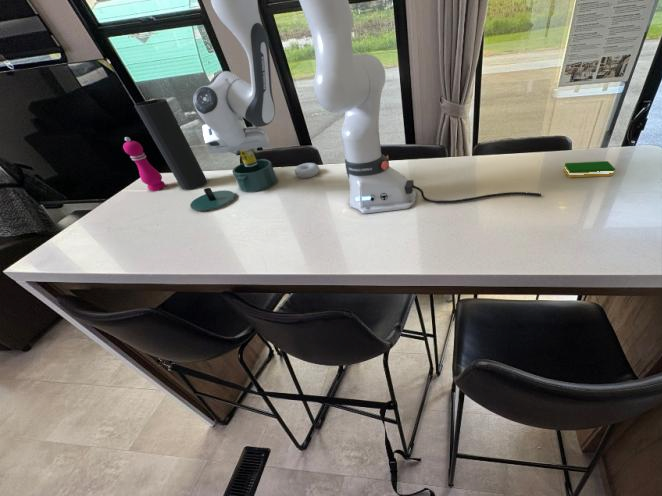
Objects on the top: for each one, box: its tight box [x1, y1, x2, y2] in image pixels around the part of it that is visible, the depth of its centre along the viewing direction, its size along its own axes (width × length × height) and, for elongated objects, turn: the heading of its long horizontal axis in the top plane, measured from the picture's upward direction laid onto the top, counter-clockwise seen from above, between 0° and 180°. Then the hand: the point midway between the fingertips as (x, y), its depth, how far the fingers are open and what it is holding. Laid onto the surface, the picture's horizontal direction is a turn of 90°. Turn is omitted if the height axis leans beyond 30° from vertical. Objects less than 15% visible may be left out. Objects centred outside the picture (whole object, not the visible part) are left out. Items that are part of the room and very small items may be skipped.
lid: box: [189, 187, 236, 212], centre depth 117 cm, size 15×15×5 cm
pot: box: [231, 158, 278, 193], centre depth 125 cm, size 14×20×7 cm
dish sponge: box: [563, 160, 616, 178], centre depth 108 cm, size 7×14×2 cm, turn 84°
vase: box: [133, 98, 208, 191], centre depth 123 cm, size 10×10×30 cm
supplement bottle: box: [239, 149, 257, 167], centre depth 119 cm, size 5×5×8 cm
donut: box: [293, 162, 320, 179], centre depth 129 cm, size 10×4×10 cm
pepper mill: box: [122, 136, 167, 192], centre depth 127 cm, size 7×7×20 cm
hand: (246, 152), depth 120 cm, fingers closed on supplement bottle, 5 cm apart
